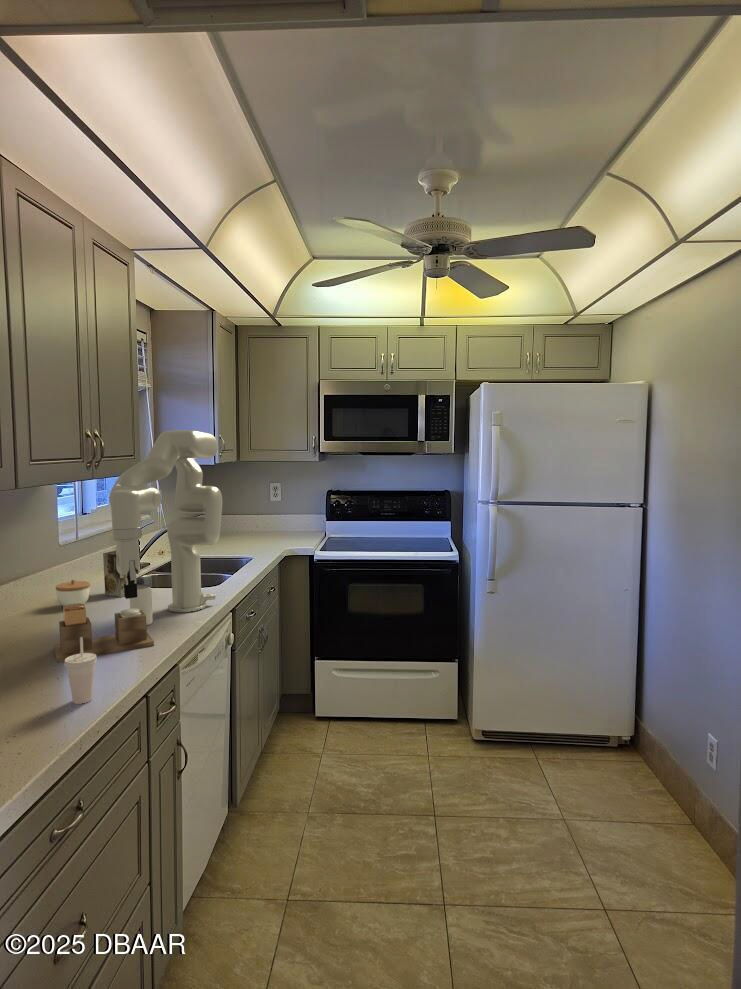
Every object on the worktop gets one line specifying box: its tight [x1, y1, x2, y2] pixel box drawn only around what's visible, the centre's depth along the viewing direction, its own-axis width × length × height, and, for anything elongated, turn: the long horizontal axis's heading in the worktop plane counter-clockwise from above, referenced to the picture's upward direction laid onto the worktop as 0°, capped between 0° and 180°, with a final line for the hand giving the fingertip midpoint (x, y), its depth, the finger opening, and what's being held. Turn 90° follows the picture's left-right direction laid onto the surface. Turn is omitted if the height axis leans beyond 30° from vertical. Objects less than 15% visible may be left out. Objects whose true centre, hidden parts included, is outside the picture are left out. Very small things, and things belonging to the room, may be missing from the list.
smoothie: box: [64, 637, 98, 705], centre depth 128 cm, size 6×6×14 cm
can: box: [129, 584, 154, 627], centre depth 184 cm, size 6×6×12 cm
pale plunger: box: [118, 608, 141, 618], centre depth 166 cm, size 5×5×8 cm
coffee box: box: [102, 550, 126, 598], centre depth 221 cm, size 9×6×16 cm
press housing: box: [53, 610, 155, 663], centre depth 163 cm, size 24×12×8 cm, turn 122°
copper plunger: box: [62, 603, 87, 627], centre depth 158 cm, size 5×5×8 cm
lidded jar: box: [55, 579, 91, 607], centre depth 205 cm, size 11×11×9 cm
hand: (131, 597), depth 166 cm, fingers closed
